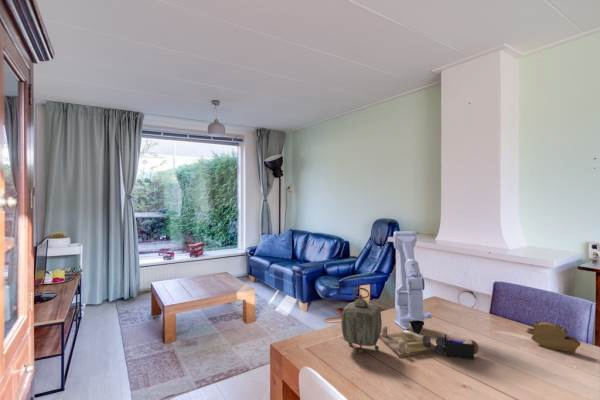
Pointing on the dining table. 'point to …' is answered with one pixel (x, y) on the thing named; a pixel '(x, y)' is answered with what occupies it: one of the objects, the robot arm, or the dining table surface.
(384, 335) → the stool seat
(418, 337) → the leg bar
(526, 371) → the dining table surface
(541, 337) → the wooden carving
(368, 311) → the green bag
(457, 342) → the character figurine
